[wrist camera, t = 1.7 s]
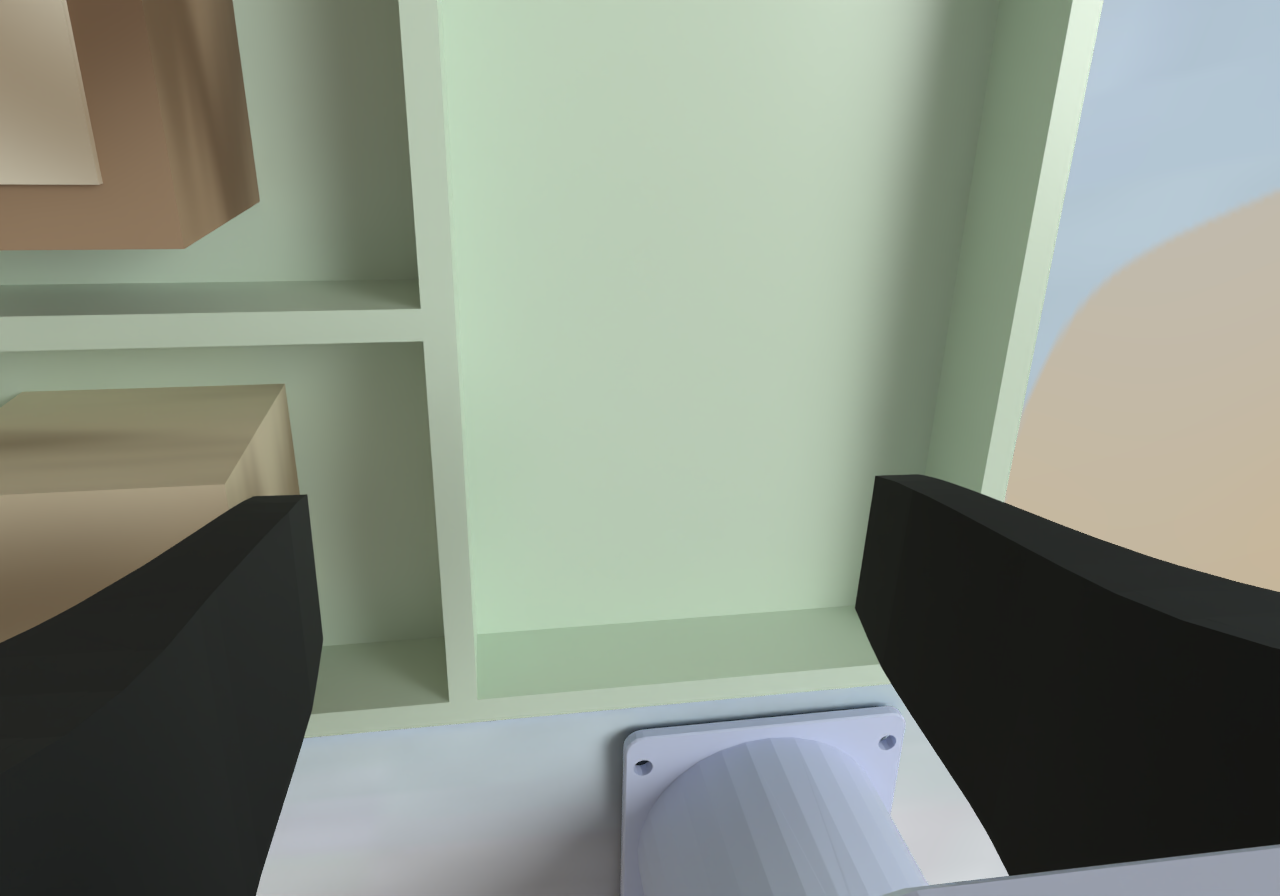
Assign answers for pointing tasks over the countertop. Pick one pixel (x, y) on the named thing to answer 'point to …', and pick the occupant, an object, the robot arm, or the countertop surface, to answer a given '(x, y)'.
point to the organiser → (604, 323)
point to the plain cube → (124, 482)
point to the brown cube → (121, 124)
